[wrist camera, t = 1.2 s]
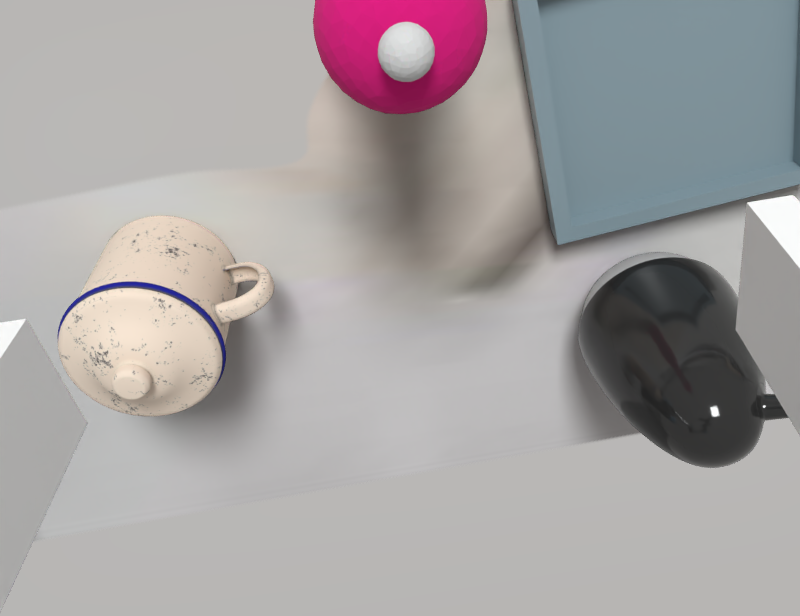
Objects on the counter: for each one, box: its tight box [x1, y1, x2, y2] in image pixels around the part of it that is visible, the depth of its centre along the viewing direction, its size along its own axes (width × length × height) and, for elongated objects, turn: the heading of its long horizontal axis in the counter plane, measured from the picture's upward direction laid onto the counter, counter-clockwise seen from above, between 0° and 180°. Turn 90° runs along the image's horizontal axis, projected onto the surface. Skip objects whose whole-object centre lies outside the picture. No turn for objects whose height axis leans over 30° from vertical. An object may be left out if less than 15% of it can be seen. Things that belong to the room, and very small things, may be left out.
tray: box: [512, 0, 800, 245], centre depth 43 cm, size 16×16×2 cm
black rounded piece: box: [578, 252, 789, 468], centre depth 46 cm, size 10×10×15 cm
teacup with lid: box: [58, 216, 274, 416], centre depth 45 cm, size 12×9×12 cm
